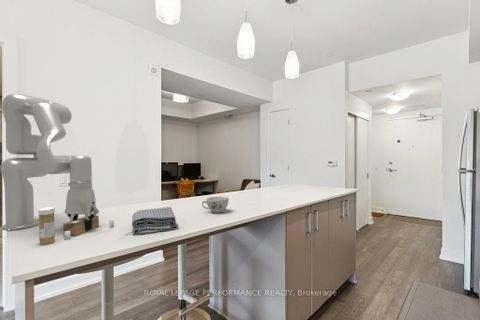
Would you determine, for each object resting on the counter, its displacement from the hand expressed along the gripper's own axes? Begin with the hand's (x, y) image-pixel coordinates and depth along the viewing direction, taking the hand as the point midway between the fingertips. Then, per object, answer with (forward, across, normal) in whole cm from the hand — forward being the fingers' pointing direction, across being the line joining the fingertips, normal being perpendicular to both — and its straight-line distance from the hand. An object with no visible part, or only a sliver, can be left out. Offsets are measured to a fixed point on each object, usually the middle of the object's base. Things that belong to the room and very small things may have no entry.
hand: (82, 229), depth 98 cm
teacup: (+2, +48, +39) cm, 62 cm away
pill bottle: (+2, -3, -13) cm, 13 cm away
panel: (+2, +2, 0) cm, 3 cm away
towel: (+2, +27, +10) cm, 29 cm away
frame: (+1, 0, 0) cm, 1 cm away
